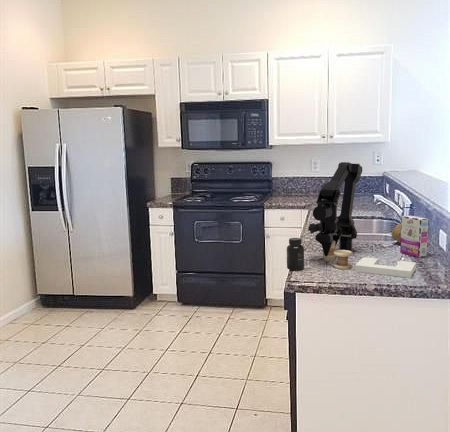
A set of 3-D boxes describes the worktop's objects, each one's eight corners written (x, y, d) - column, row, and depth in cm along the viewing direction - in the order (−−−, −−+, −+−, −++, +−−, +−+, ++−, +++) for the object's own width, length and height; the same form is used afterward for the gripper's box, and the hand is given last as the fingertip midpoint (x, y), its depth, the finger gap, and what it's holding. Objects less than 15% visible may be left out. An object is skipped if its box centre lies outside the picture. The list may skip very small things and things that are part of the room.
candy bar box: (428, 256, 202) (429, 218, 199) (418, 258, 200) (420, 219, 197) (408, 251, 212) (409, 214, 209) (399, 252, 210) (400, 215, 207)
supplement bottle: (302, 265, 193) (302, 236, 191) (305, 270, 186) (305, 240, 184) (285, 266, 193) (285, 237, 190) (288, 271, 186) (288, 241, 184)
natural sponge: (388, 244, 224) (389, 223, 223) (395, 241, 231) (396, 220, 229) (407, 247, 219) (408, 225, 217) (414, 243, 225) (415, 222, 224)
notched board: (363, 263, 194) (363, 257, 194) (415, 268, 185) (416, 262, 184) (354, 271, 183) (355, 265, 183) (410, 278, 174) (410, 271, 173)
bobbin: (336, 263, 195) (336, 249, 194) (353, 265, 191) (354, 250, 190) (331, 267, 189) (331, 253, 188) (349, 270, 185) (349, 254, 184)
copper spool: (324, 257, 204) (325, 239, 203) (336, 259, 202) (337, 240, 200) (321, 260, 200) (321, 241, 198) (333, 262, 197) (333, 243, 196)
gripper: (318, 212, 210) (317, 247, 212) (303, 219, 194) (303, 256, 196) (343, 213, 204) (342, 249, 207) (330, 221, 188) (329, 259, 191)
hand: (329, 253), depth 200 cm, fingers open, 8 cm apart
